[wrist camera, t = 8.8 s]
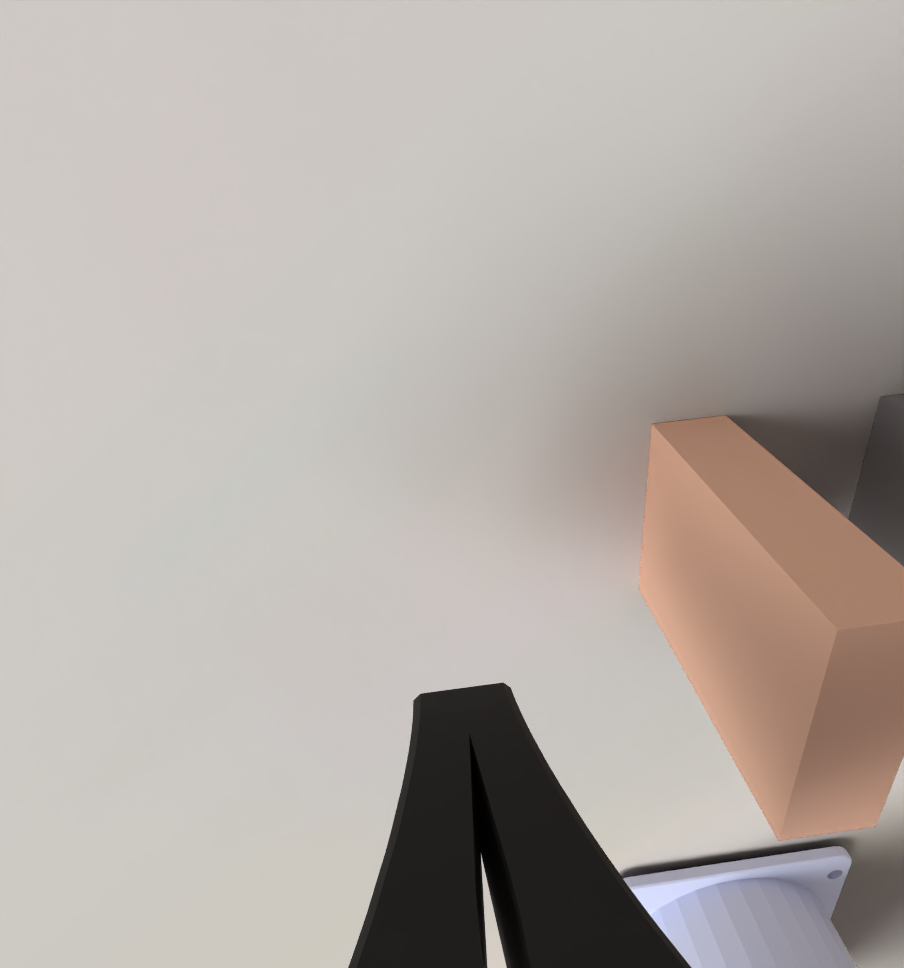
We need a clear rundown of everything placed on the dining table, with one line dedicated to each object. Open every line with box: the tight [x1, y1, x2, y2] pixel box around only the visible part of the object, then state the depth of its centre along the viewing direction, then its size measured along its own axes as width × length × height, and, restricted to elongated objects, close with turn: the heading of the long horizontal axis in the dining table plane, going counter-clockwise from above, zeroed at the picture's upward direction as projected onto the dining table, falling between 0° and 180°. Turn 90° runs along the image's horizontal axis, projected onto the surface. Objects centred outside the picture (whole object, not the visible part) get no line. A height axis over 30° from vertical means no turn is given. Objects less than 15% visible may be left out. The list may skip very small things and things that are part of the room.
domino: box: [639, 415, 904, 841], centre depth 12 cm, size 2×4×6 cm, turn 4°
